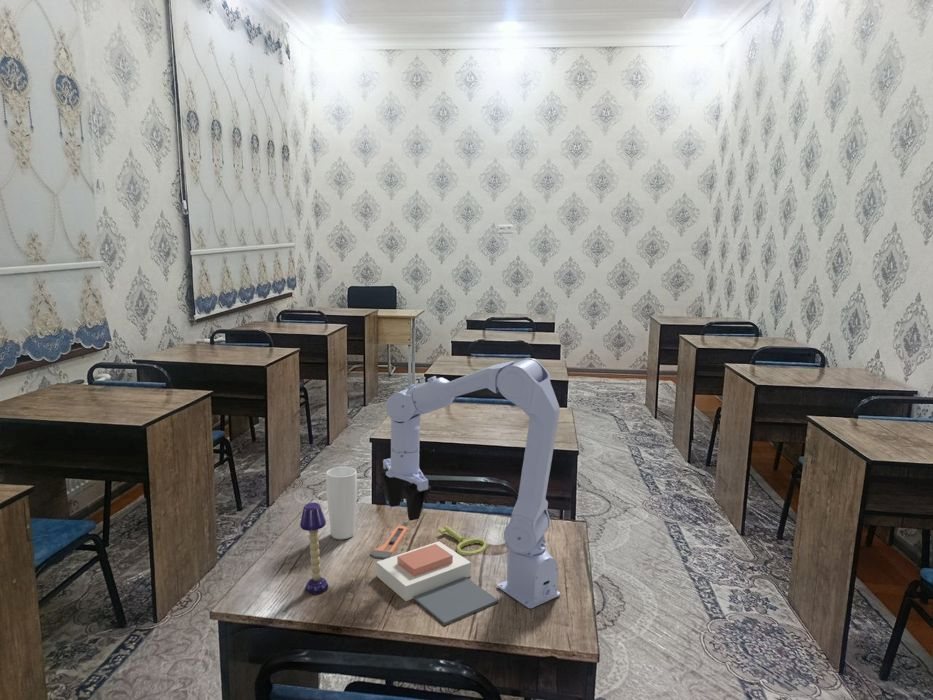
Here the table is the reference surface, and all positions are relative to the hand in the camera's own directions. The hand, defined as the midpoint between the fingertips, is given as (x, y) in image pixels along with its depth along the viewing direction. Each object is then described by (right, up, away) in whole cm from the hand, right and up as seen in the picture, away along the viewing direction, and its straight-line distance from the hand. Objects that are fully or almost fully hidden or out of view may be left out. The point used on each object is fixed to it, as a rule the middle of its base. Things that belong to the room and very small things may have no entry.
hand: (404, 512), depth 127 cm
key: (+12, -10, +10) cm, 18 cm away
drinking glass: (-15, -9, +13) cm, 22 cm away
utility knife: (-4, -10, +11) cm, 15 cm away
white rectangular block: (+4, -12, -4) cm, 13 cm away
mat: (+11, -13, -13) cm, 21 cm away
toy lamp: (-16, -12, -9) cm, 22 cm away
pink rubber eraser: (+5, -9, -5) cm, 11 cm away
